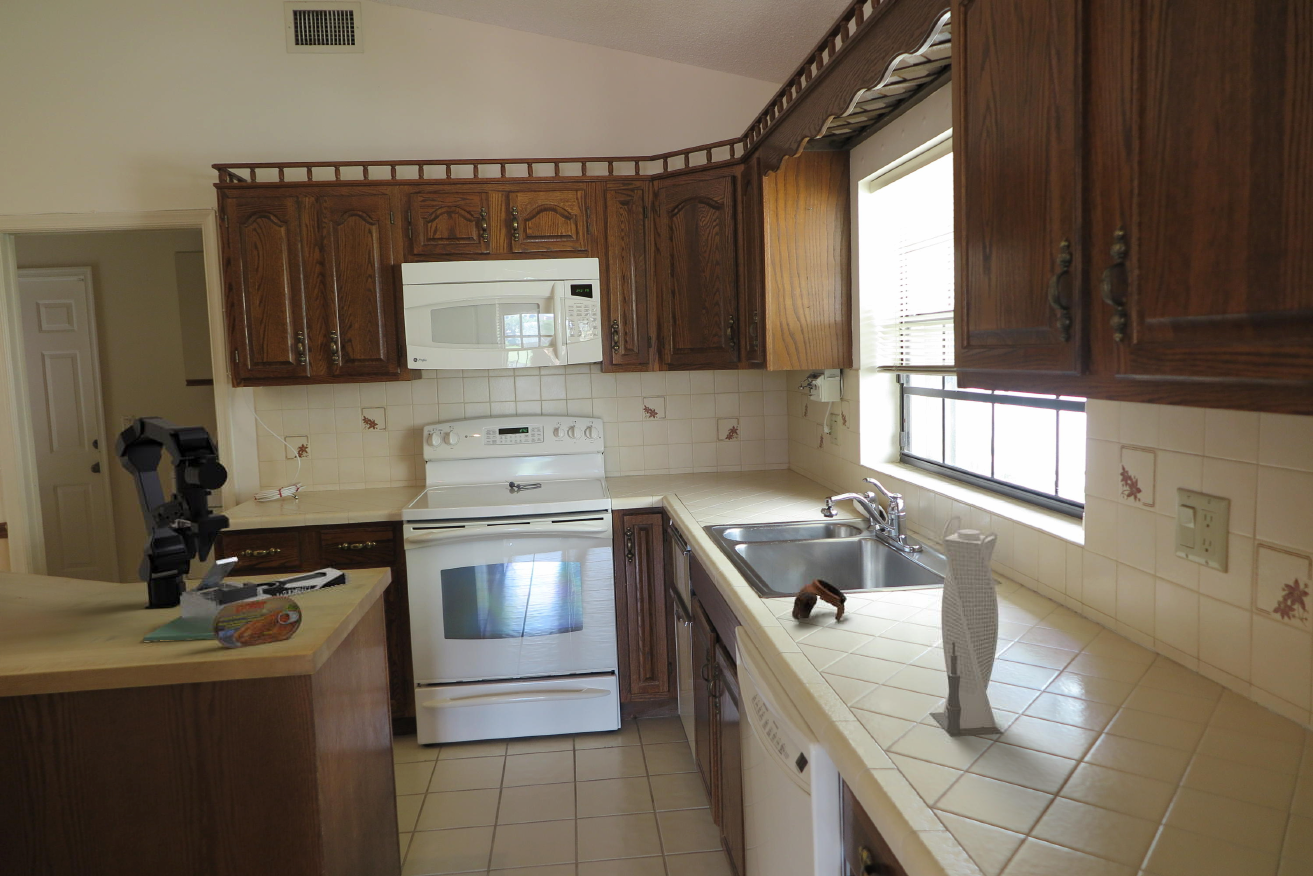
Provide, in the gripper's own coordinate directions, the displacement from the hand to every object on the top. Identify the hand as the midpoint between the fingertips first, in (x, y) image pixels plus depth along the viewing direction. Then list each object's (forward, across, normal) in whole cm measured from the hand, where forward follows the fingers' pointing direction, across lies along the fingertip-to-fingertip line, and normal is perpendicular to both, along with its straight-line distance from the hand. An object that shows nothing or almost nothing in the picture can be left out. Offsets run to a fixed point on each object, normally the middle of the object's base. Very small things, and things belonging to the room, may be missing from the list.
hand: (197, 560), depth 172 cm
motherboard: (+12, +9, 0) cm, 15 cm away
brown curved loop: (+12, +110, +65) cm, 128 cm away
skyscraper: (+12, +147, +35) cm, 152 cm away
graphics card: (+13, -3, +21) cm, 25 cm away
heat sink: (+12, +10, 0) cm, 16 cm away
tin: (+12, +28, -2) cm, 30 cm away
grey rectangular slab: (+2, +8, 0) cm, 9 cm away
